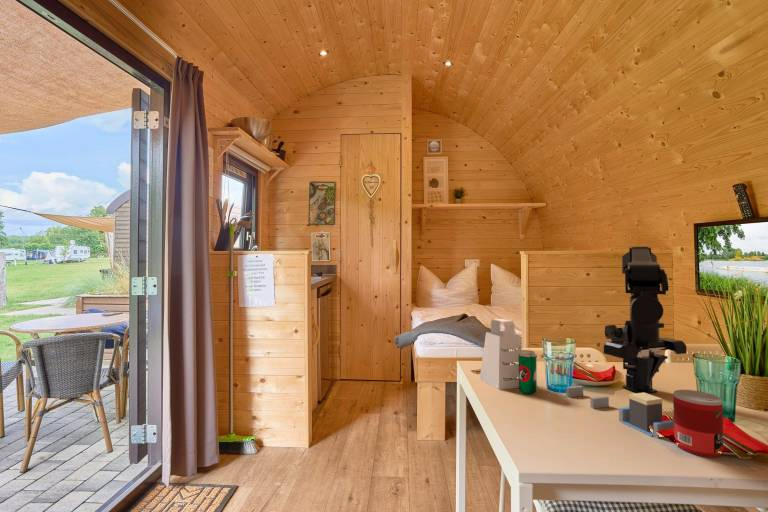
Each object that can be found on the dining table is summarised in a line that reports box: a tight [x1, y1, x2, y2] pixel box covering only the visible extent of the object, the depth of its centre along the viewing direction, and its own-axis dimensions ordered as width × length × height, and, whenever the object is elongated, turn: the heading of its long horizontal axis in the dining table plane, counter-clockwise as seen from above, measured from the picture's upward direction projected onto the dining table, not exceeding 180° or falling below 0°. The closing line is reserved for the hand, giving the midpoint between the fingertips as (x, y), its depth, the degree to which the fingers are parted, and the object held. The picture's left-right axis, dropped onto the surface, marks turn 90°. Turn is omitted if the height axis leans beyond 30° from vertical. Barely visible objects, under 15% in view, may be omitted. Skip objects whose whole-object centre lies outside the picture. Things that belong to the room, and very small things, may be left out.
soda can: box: [518, 349, 538, 395], centre depth 117 cm, size 5×5×12 cm
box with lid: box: [628, 392, 663, 432], centre depth 92 cm, size 5×5×7 cm
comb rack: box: [565, 385, 674, 439], centre depth 100 cm, size 6×28×3 cm, turn 16°
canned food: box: [672, 389, 724, 458], centre depth 82 cm, size 8×8×11 cm
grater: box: [479, 318, 523, 391], centre depth 126 cm, size 10×10×20 cm
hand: (645, 384), depth 92 cm, fingers closed
